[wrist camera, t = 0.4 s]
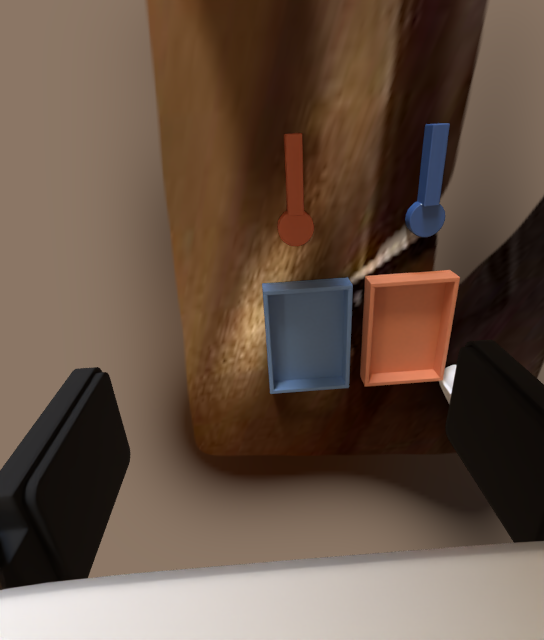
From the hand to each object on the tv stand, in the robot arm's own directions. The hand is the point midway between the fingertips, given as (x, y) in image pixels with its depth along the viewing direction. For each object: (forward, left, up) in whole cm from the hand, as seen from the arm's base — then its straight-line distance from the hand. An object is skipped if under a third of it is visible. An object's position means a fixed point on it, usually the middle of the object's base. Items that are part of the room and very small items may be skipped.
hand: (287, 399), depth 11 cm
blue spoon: (0, +18, -34) cm, 38 cm away
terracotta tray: (+17, +17, -34) cm, 42 cm away
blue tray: (+17, +5, -34) cm, 38 cm away
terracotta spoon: (0, +4, -34) cm, 34 cm away
